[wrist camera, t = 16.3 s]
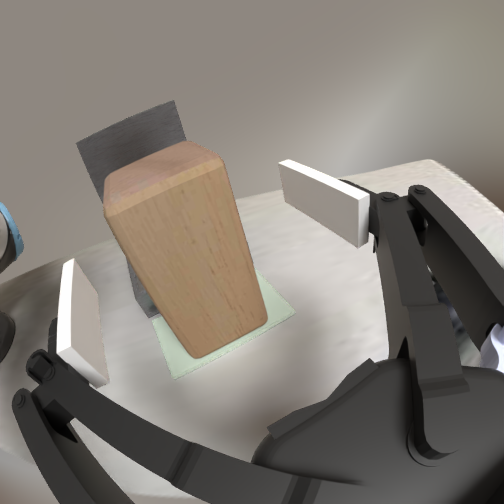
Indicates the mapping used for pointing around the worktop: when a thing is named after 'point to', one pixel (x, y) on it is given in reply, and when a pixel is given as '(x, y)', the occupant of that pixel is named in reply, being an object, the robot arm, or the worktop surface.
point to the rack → (131, 158)
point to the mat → (185, 363)
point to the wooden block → (187, 244)
